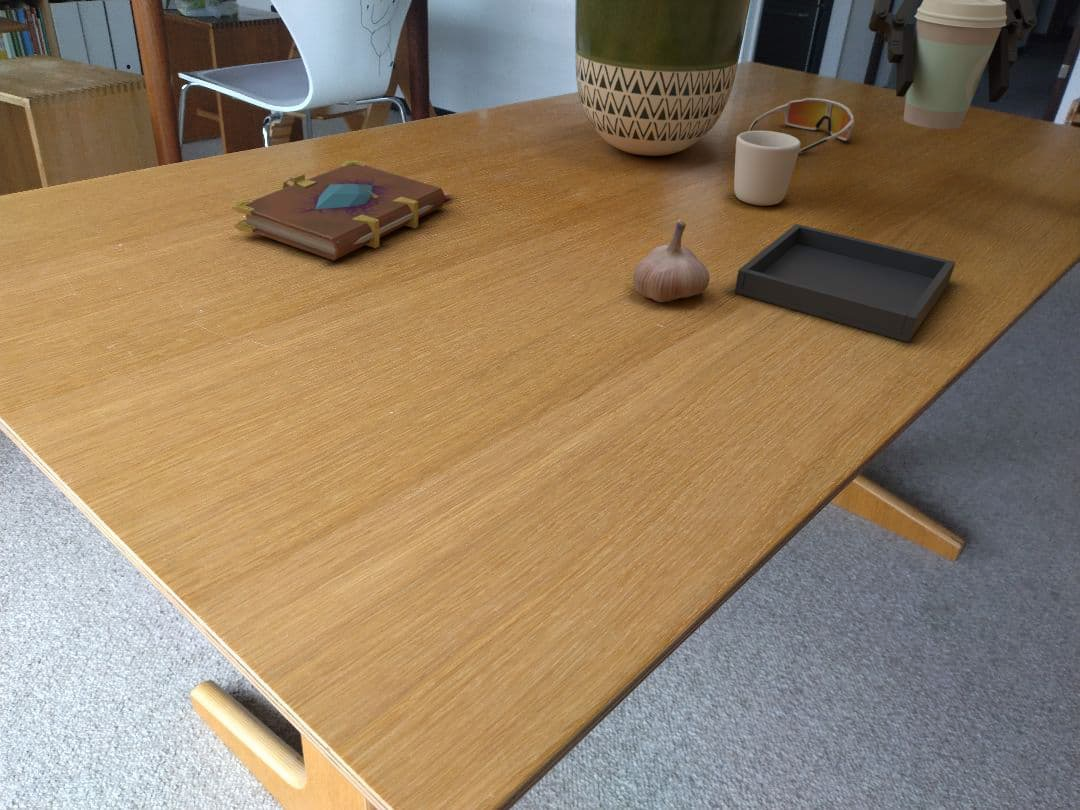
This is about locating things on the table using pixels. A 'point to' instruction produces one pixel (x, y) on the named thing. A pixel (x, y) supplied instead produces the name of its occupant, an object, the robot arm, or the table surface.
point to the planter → (656, 68)
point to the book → (339, 209)
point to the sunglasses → (816, 118)
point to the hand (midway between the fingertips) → (951, 91)
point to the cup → (764, 166)
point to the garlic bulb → (670, 271)
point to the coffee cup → (950, 59)
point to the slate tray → (847, 280)
